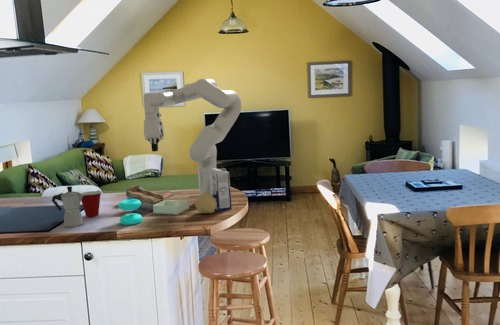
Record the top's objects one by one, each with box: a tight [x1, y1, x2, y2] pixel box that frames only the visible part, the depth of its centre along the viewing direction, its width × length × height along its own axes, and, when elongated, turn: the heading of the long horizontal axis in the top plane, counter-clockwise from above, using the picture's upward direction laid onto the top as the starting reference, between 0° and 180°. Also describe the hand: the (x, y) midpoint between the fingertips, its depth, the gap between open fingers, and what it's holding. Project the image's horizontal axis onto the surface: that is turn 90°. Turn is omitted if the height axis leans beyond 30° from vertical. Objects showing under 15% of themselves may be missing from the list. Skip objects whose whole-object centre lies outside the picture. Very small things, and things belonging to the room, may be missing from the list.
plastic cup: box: [79, 190, 103, 218], centre depth 244 cm, size 11×11×12 cm
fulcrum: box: [131, 201, 154, 214], centre depth 251 cm, size 8×12×5 cm, turn 155°
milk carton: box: [211, 167, 233, 212], centre depth 243 cm, size 7×7×20 cm
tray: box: [152, 199, 190, 216], centre depth 245 cm, size 13×11×4 cm
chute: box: [125, 184, 174, 205], centre depth 254 cm, size 16×18×4 cm
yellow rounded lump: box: [195, 192, 217, 214], centre depth 236 cm, size 10×12×11 cm
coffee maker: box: [51, 185, 85, 229], centre depth 229 cm, size 15×9×18 cm, turn 92°
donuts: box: [117, 199, 143, 226], centre depth 228 cm, size 10×10×10 cm
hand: (155, 151), depth 266 cm, fingers closed
